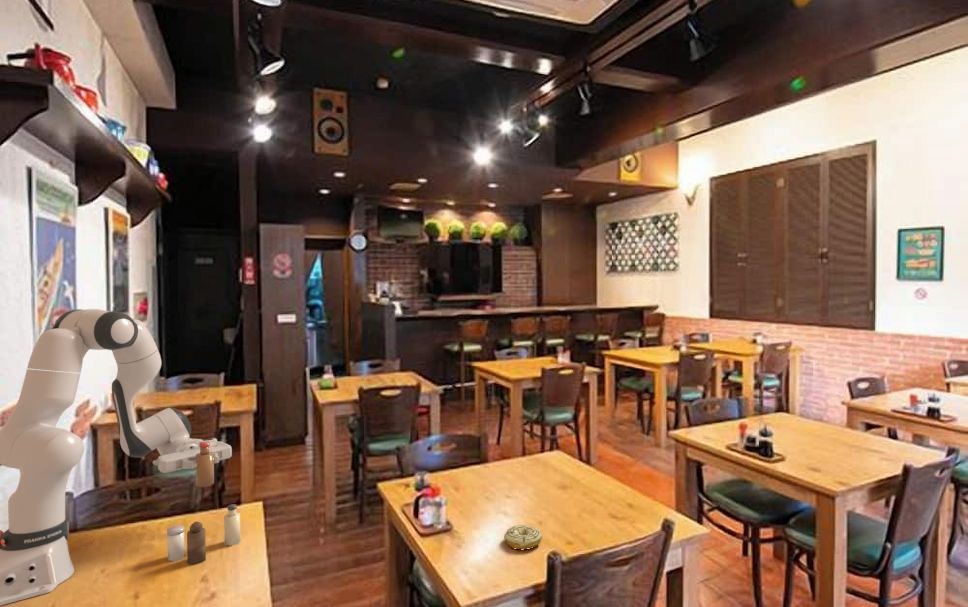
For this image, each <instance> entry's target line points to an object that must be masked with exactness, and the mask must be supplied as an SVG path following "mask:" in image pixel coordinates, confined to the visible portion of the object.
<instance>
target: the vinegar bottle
mask: <svg viewBox="0 0 968 607" xmlns="http://www.w3.org/2000/svg"><path fill="white" fill-rule="evenodd" d="M237 507H238V506H237V504H235V503H232V504H229V505H227V511H228V513H227V514H225V515H223V522H224V523H223V527H224V528H223V531H224V532H223V533H224V534H223V535H224V537H223V538H224V540H223V541H224V546H226V545H228V546H227V547H232V546H231V545H234V546H236V545H235V544H237V545H239V544H240V543H241V513H239V512H237ZM239 542H240V543H239ZM238 543H239V544H238Z"/></svg>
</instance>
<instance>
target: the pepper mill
mask: <svg viewBox="0 0 968 607" xmlns="http://www.w3.org/2000/svg"><path fill="white" fill-rule="evenodd" d="M206 542H207V541H206V528H205V527H203V524H202V522H200V521H194V522H192V524H191V525H190V526H189V530H188V531H187V532H186V551H187V553H186V554H187V555H186V556H187V558H186V559H187V560H186V561H187V564H188V565H189V566H190V565H192V566H193V565H194V566H195V565H200V564H201V563H204V562H205V561H206V559H207V557H206V556H207V554H206V553H207V552H206V551H207V550H206V548H207V547H206V545H207V544H206ZM203 561H204V562H203Z"/></svg>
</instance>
